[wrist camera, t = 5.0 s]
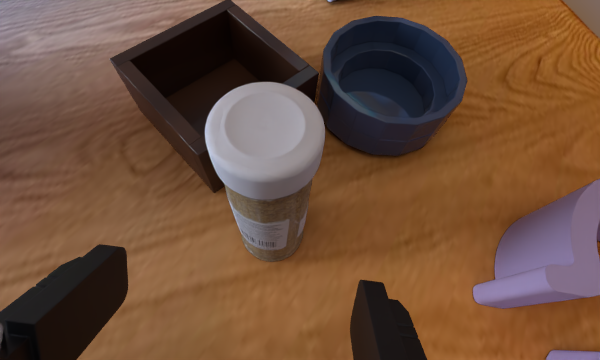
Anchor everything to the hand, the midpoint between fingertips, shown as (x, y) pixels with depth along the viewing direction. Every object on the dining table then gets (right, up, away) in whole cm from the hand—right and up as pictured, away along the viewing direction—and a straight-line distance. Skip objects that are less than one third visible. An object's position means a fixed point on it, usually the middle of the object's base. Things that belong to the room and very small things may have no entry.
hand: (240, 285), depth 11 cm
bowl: (+9, +10, +19) cm, 23 cm away
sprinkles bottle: (0, 0, +13) cm, 13 cm away
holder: (-4, +9, +17) cm, 20 cm away
